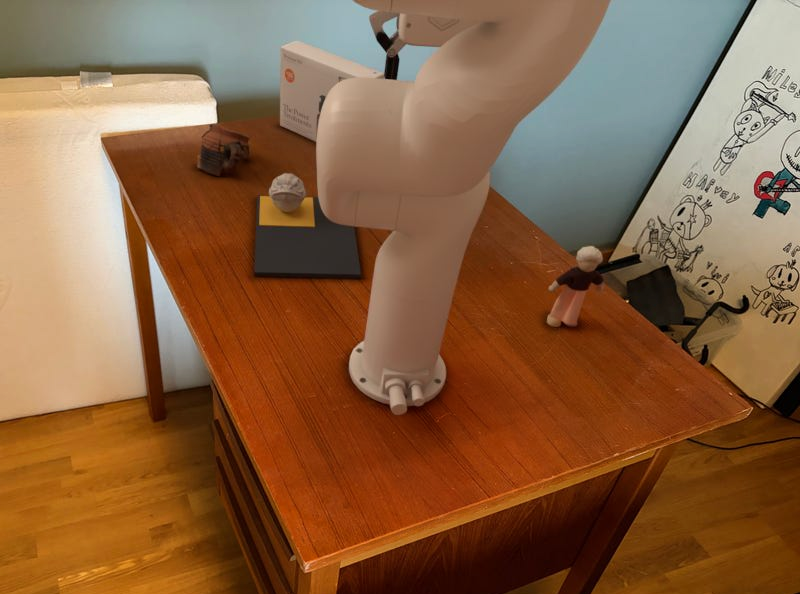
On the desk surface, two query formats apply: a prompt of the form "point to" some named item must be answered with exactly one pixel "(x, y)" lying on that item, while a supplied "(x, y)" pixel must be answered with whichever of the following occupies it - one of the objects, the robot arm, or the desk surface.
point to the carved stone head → (287, 192)
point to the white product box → (311, 84)
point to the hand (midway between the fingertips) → (427, 86)
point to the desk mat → (303, 243)
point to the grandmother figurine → (575, 287)
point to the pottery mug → (228, 158)
